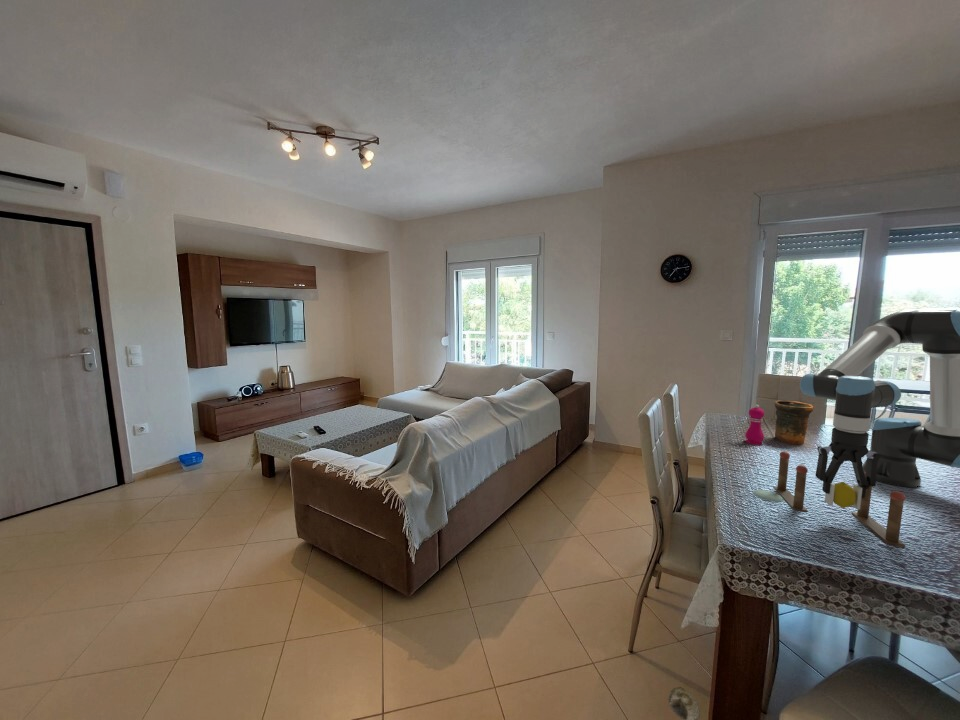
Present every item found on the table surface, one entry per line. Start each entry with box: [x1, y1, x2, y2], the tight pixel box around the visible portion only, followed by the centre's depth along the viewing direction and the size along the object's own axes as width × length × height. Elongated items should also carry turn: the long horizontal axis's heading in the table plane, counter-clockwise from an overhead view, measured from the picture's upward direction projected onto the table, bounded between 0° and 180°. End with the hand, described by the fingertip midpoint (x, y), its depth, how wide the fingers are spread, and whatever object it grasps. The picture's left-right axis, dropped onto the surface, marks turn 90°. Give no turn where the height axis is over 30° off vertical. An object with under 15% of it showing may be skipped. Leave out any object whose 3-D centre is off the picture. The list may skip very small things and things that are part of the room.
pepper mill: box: [745, 404, 765, 446], centre depth 178 cm, size 7×7×20 cm
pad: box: [753, 489, 784, 503], centre depth 127 cm, size 8×8×1 cm
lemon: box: [833, 481, 856, 509], centre depth 110 cm, size 6×6×8 cm
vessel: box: [774, 400, 814, 446], centre depth 180 cm, size 14×14×20 cm
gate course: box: [773, 451, 906, 548], centre depth 116 cm, size 20×29×15 cm
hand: (842, 505), depth 110 cm, fingers closed on lemon, 5 cm apart
